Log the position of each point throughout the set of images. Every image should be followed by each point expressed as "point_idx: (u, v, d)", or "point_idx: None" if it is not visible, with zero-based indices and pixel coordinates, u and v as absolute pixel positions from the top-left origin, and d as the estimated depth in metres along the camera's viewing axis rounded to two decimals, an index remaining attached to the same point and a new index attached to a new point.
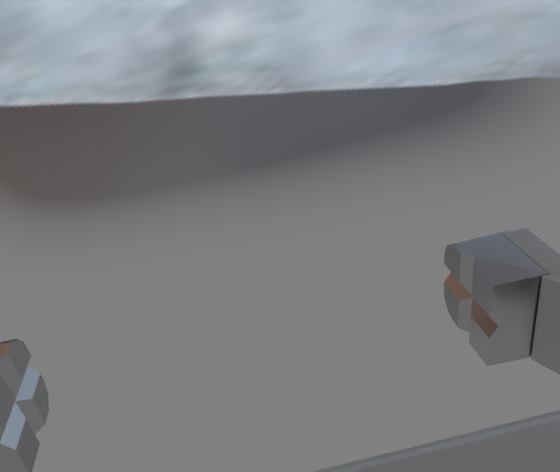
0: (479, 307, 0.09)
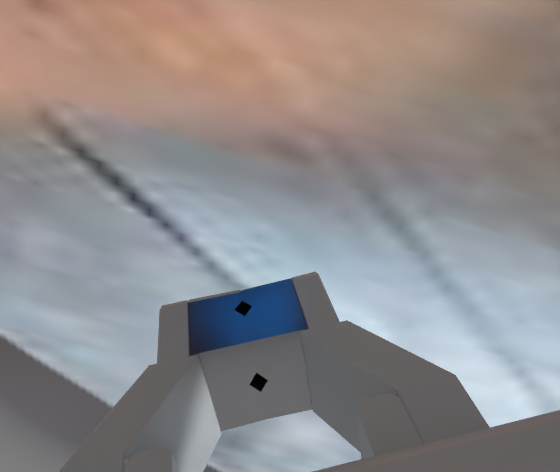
0: None
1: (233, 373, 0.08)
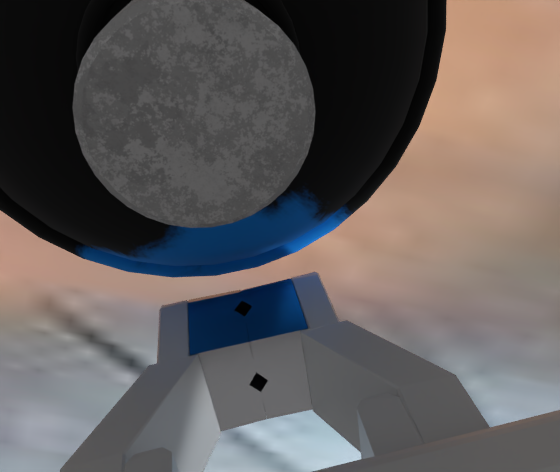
0: None
1: (233, 373, 0.08)
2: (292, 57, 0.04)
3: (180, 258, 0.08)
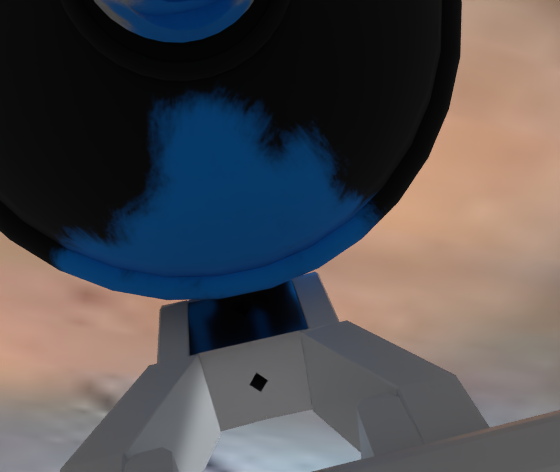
0: None
1: (233, 373, 0.08)
2: None
3: (167, 239, 0.07)
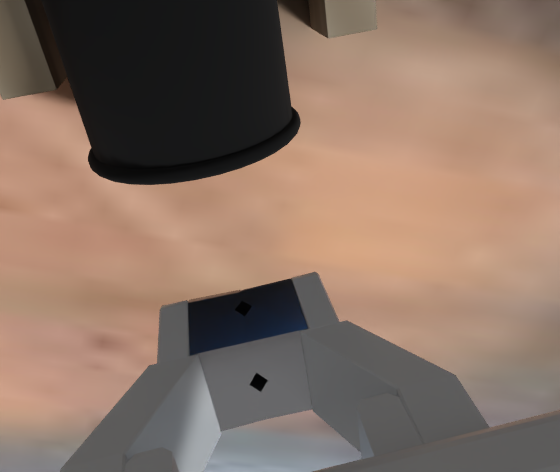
0: None
1: (233, 373, 0.08)
2: None
3: None
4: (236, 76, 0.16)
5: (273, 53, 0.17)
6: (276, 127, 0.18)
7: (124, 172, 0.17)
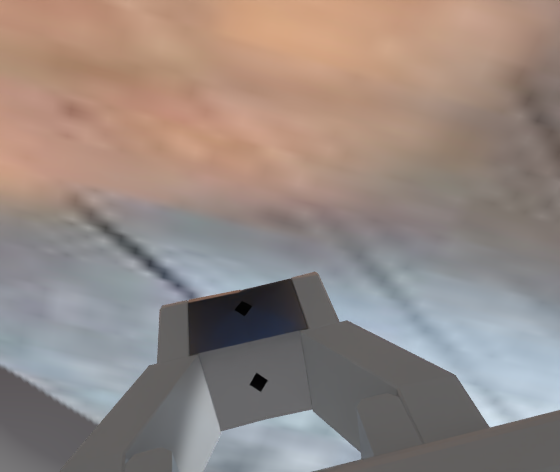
0: None
1: (233, 373, 0.08)
2: None
3: None
4: None
5: None
6: None
7: None
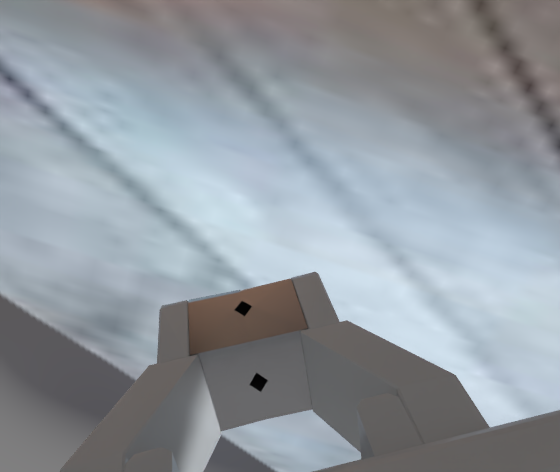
0: None
1: (233, 373, 0.08)
2: None
3: None
4: None
5: None
6: None
7: None
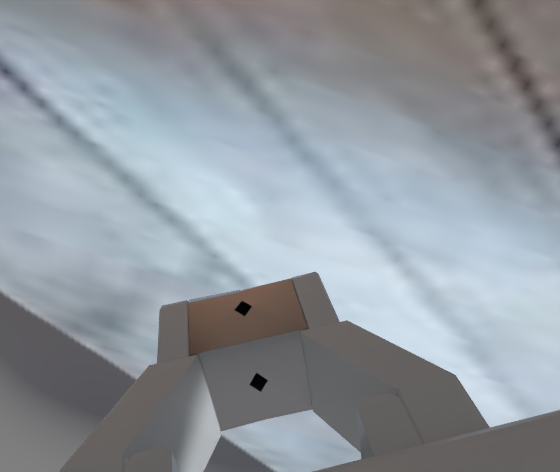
0: None
1: (233, 373, 0.08)
2: None
3: None
4: None
5: None
6: None
7: None
